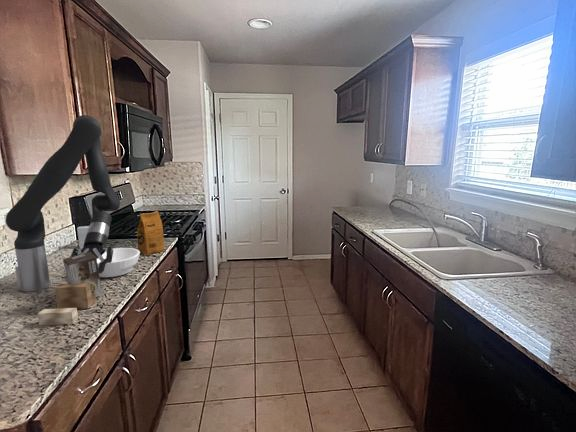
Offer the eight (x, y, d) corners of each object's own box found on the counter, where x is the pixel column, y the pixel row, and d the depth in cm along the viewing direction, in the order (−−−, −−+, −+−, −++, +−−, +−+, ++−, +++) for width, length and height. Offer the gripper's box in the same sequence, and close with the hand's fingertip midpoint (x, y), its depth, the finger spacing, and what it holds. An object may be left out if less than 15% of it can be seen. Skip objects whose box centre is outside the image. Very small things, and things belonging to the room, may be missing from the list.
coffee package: (135, 252, 177) (132, 212, 172) (157, 247, 186) (154, 209, 182) (145, 256, 170) (141, 215, 166) (166, 250, 180) (164, 211, 176)
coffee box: (96, 288, 127) (90, 251, 122) (103, 295, 123) (97, 256, 118) (69, 297, 120) (62, 258, 115) (76, 305, 116) (68, 264, 111)
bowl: (76, 274, 146) (74, 256, 144) (126, 261, 163) (125, 245, 162) (99, 286, 132) (97, 267, 131) (151, 270, 150) (149, 253, 148)
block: (57, 309, 112) (54, 287, 111) (66, 302, 117) (63, 281, 116) (88, 308, 113) (85, 286, 112) (95, 301, 118) (93, 280, 117)
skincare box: (93, 245, 189) (90, 225, 187) (91, 247, 185) (89, 227, 183) (81, 246, 187) (78, 226, 185) (79, 248, 183) (76, 228, 181)
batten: (39, 325, 103) (37, 313, 102) (45, 320, 105) (43, 309, 105) (73, 323, 104) (71, 312, 103) (78, 319, 106) (76, 307, 106)
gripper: (73, 231, 126) (61, 270, 116) (112, 230, 127) (103, 267, 118) (82, 241, 132) (71, 278, 123) (119, 239, 133) (111, 276, 124)
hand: (87, 273), depth 120 cm, fingers open, 8 cm apart
